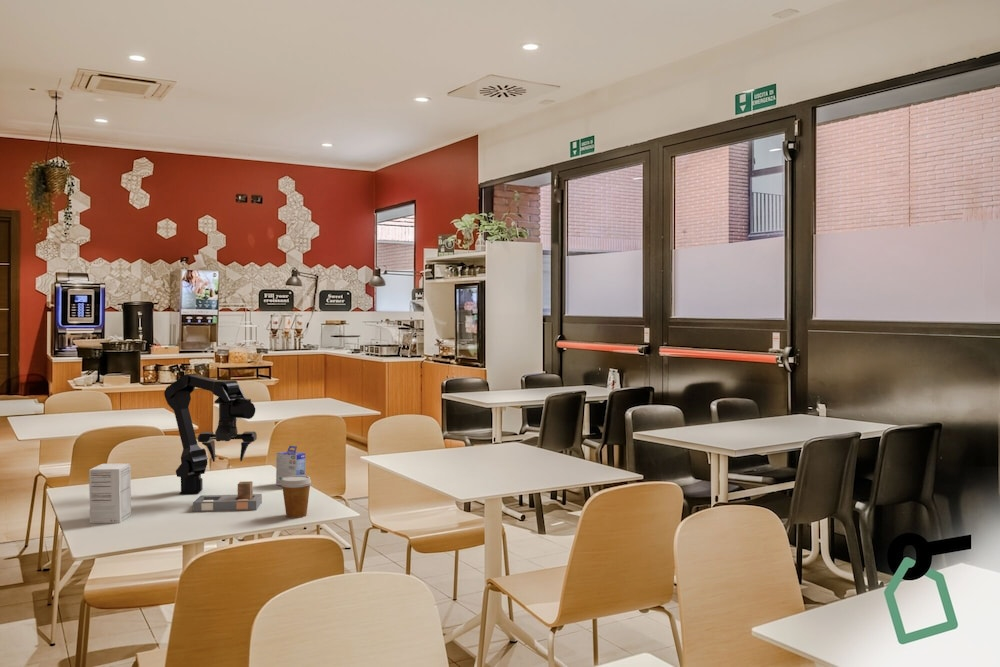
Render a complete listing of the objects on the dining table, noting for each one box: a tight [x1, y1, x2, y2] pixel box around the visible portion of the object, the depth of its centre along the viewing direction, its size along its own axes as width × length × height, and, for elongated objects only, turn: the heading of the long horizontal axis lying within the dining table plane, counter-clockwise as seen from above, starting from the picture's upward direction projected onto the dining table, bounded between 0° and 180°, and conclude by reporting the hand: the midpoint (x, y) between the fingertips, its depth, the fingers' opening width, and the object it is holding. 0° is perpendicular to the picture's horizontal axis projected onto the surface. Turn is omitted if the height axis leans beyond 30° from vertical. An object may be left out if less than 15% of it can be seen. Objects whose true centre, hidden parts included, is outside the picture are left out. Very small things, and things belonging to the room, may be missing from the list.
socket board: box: [192, 493, 263, 512], centre depth 269 cm, size 20×10×3 cm, turn 97°
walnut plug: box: [237, 481, 254, 499], centre depth 269 cm, size 4×4×8 cm
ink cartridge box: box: [275, 445, 306, 487], centre depth 302 cm, size 10×6×14 cm, turn 66°
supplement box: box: [88, 463, 132, 524], centre depth 253 cm, size 10×9×17 cm
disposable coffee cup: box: [281, 475, 312, 519], centre depth 257 cm, size 10×10×12 cm
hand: (227, 461), depth 282 cm, fingers open, 9 cm apart
